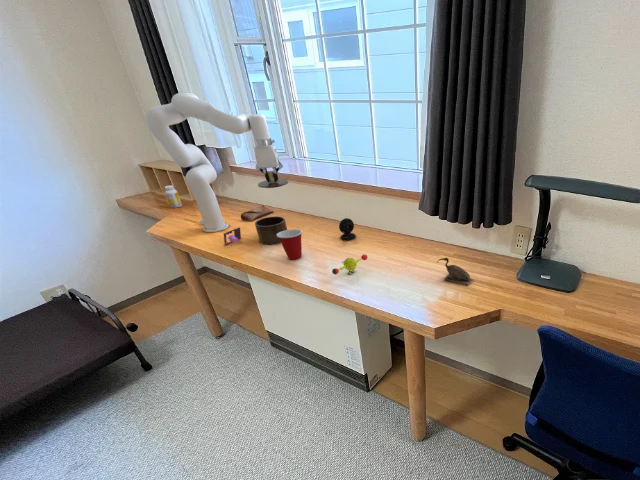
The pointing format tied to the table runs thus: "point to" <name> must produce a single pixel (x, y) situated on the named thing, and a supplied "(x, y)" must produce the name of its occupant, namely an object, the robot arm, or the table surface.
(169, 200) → the supplement bottle
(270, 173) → the basket lid
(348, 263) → the toy figure
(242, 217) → the sunglasses case
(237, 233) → the purple toy package
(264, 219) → the basket
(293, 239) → the plastic cup
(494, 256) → the table surface
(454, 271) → the figurine
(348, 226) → the webcam
